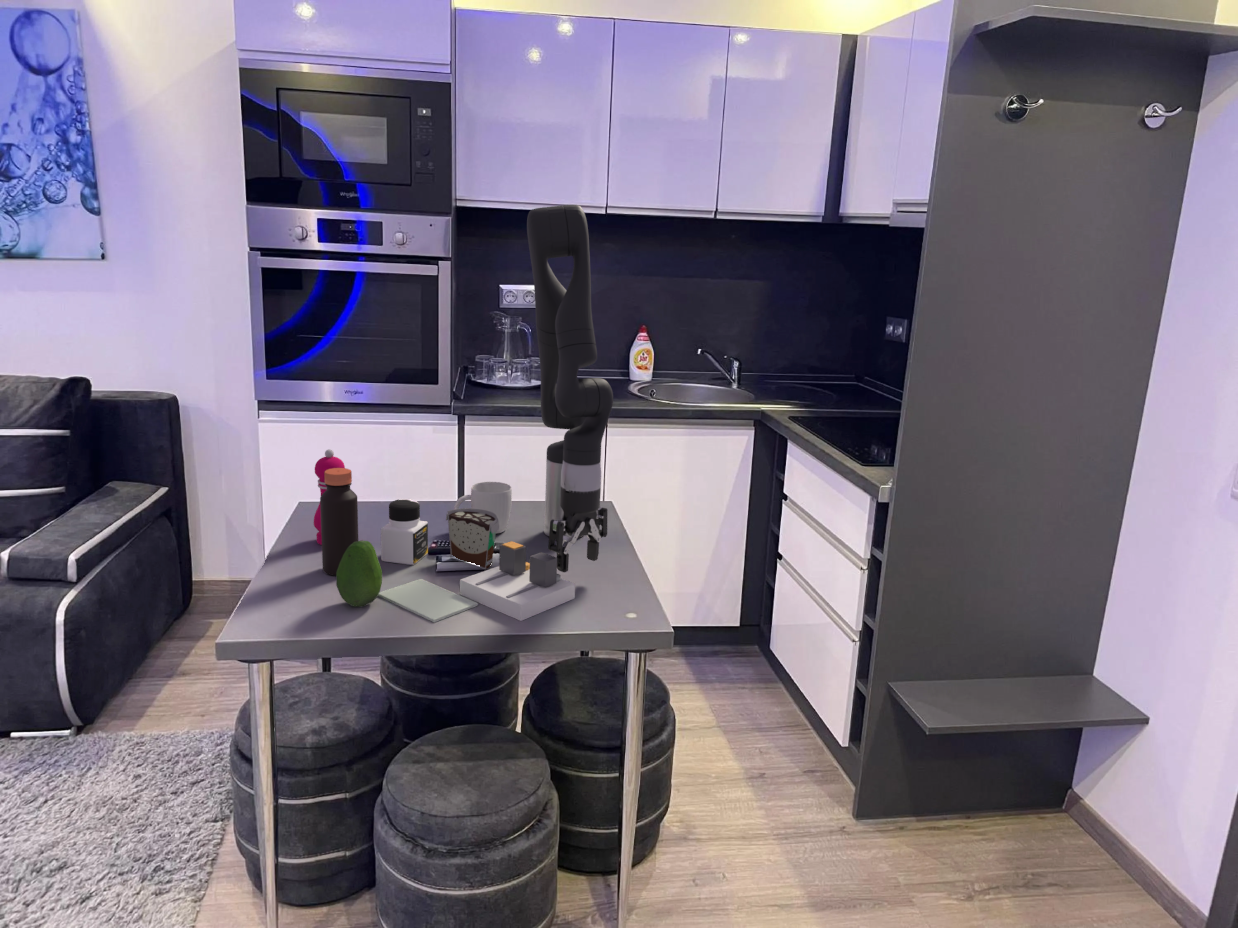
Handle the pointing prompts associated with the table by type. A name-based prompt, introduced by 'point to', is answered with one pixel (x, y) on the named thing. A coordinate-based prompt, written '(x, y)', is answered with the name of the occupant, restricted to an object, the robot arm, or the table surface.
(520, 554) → the toggle
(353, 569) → the avocado
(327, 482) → the vinegar
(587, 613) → the table surface
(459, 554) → the food container
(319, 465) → the pepper mill
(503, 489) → the mug
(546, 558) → the toggle
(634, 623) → the table surface
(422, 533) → the medicine bottle
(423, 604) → the pad
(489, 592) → the panel
